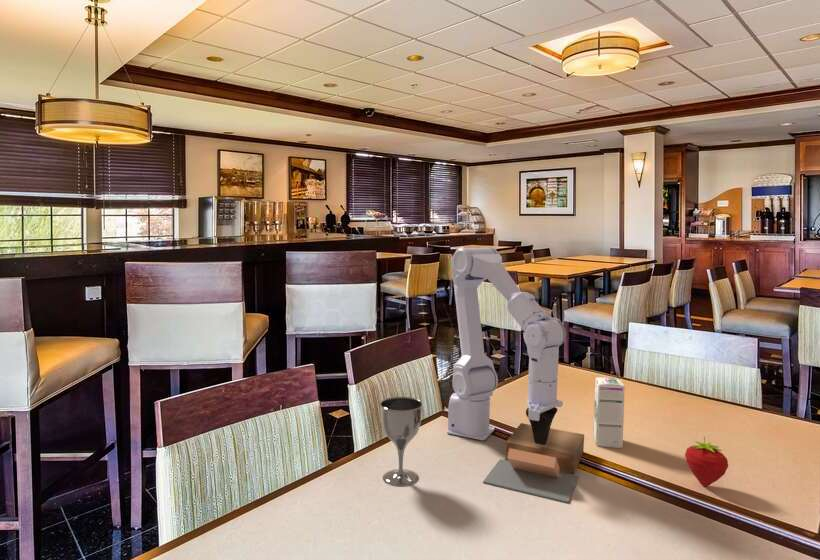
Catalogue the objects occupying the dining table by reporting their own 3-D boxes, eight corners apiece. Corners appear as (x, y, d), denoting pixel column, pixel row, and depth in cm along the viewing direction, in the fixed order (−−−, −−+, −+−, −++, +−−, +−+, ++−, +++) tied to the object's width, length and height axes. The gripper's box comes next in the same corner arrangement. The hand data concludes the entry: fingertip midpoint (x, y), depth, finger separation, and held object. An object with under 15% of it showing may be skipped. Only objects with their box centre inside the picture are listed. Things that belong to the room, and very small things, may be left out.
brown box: (505, 460, 111) (505, 442, 111) (520, 439, 122) (521, 423, 122) (573, 475, 105) (574, 455, 105) (583, 452, 116) (584, 434, 115)
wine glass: (391, 491, 98) (391, 413, 97) (373, 473, 105) (374, 400, 104) (428, 481, 102) (429, 406, 100) (409, 465, 109) (410, 394, 107)
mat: (483, 482, 102) (483, 481, 102) (500, 460, 111) (500, 458, 111) (568, 503, 95) (568, 501, 95) (578, 477, 104) (578, 475, 104)
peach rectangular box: (514, 458, 108) (512, 468, 107) (509, 448, 104) (507, 458, 103) (559, 468, 104) (558, 478, 103) (555, 457, 100) (554, 468, 99)
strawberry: (716, 499, 96) (720, 446, 95) (676, 482, 103) (679, 432, 102) (732, 490, 100) (736, 439, 99) (693, 474, 106) (696, 426, 105)
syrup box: (623, 448, 118) (626, 385, 116) (595, 446, 119) (598, 383, 117) (618, 438, 123) (621, 378, 122) (591, 436, 125) (594, 376, 123)
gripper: (555, 391, 99) (553, 461, 100) (569, 372, 112) (567, 434, 113) (518, 385, 102) (516, 453, 103) (536, 367, 115) (534, 428, 116)
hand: (540, 443), depth 108 cm, fingers closed
